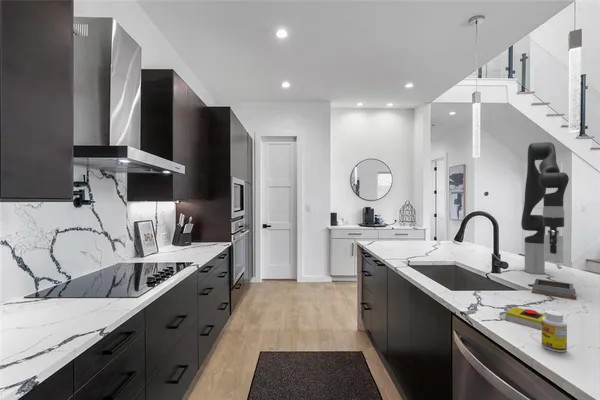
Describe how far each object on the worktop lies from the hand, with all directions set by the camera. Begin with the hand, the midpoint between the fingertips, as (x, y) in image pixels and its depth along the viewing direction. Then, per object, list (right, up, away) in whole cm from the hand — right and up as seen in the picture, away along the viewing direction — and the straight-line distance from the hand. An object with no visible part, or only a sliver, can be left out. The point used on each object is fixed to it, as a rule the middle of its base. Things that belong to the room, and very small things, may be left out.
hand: (553, 252), depth 138 cm
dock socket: (0, -18, 0) cm, 18 cm away
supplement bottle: (-43, -19, -51) cm, 70 cm away
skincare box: (0, -5, 0) cm, 5 cm away
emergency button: (-36, -19, -32) cm, 52 cm away
